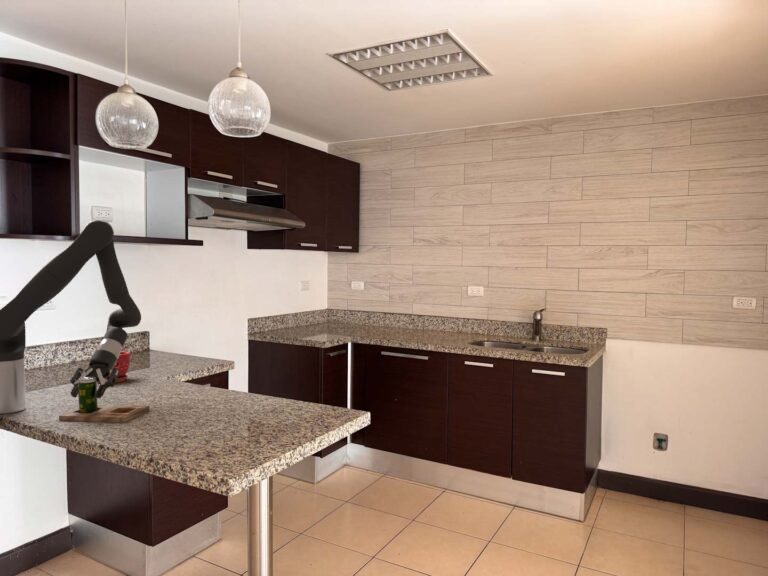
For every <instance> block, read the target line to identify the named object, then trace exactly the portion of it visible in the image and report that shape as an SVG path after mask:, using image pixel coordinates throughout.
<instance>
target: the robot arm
mask: <svg viewBox="0 0 768 576" xmlns="http://www.w3.org/2000/svg"><path fill="white" fill-rule="evenodd" d="M114 235H115V233H114V228H113V226H112V225H111V224H110V223H109V222H108V221H106V220H104V219H100V218H99V219H98V218H95V219H93V220H90V221H89V222H87V223H86V224H85V226H84V228H83V230H82V231H81V232H80V234H78V236H77V237H76V238H75V240H73V242H72V243H71V244H70V245H69V246H68V247H67V248H65V249H64V250H63V251H61V252H60V253H59V254H57V255H55V257H53V258H52V259H50V261H48V262H47V263H45V265H43V267H42V268H40V270H39V271H37V273H35V274H34V275H33V277H32V278H31V279H30V280H29V281H28V282H27V283H26V284H25V285H24V286H23V288H22V289H21V290H20V291H19V292H18V293H17V294H16V296H15V297H14V298H13V299H12V300H10V301H8V303H7V304H4V305H5V306H3V307H2V308H0V414H11V413H17V412H21V411H24V410H26V409H27V405H26V404H27V403H26V400H27V399H26V398H27V397H26V394H27V393H26V377H25V376H26V374H25V369H26V368H25V351H26V345H27V343H26V342H27V341H26V323H25V322H26V321H28V319H29V318H30V317H31V316H32V315H33V314H34V313H35V312H36V311H37V310H39V309H40V308H42V307H43V306H44V305H46V304H47V303H48V302H49V301H52V299H54V298H55V297H56V296H58V295H59V294H60V293H61V292H62V291H63V290H64V289H65V288H66V287H67V286H68V285H69V284H70V283H71V282H72V281H73V279H75V277H76V276H77V275H78V274H79V272H81V270H82V269H83V267H84V266H85V265H86V264H87V262H88V261H90V260H91V259H92V258H93V257H96V259H97V263H98V266H99V270H100V275H101V279H102V283H103V286H104V290H105V292H106V293H105V294H106V297H107V299H108V302H109V303H111V304H113V305H116V306H119V307H120V308H117V309H115V310H113V311H112V312H111V313H110V314H109V317H108V319H107V325H106V330H105V333H104V335H103V338H102V339H101V341H100V342H99V344H98V345H97V347H96V348H95V351H94V353H93V354H92V356H91V358H90V360H89V362H88V363H89V364H88V366H87V368H82V367H81V366H80V367H78V368H77V369H76V371H75V372H74V374H73V376H72V377H71V379H70V383H71V384H72V385H73V387H72V389H71V391H70V396H71V397H72V398H77V397H78V381H79V378H82V377H96V380H97V383H100V382H101V383H100V384H101V385H99V386H98V387H97V392H96V394H95V396H96V397H97V399H101V398H102V397H103V396H104V394H105V392H106V390H107V389H109V388H113V387H115V384H116V383H115V382H116V380H117V377H118V375H119V372H118V370H117V369H116V368H114V366H116V364H117V362H116V361H117V359H118V357H119V355H120V353H121V352H122V350H123V348H124V345H125V343H126V341H127V339H128V333H127V331H126V330H125V328H133V327H134V328H135V327H137V326H138V325H140V323H141V320H142V313H141V310H140V309H139V306H138V305H137V304H136V302H135V301H134V299H133V298H132V297H131V295H130V291H129V289H128V285H127V282H126V279H125V276H124V273H123V271H122V268H121V266H120V263H119V260H118V257H117V253H116V249H115V241H114V237H115V236H114ZM109 375H110V376H109ZM107 376H109V379H108V381H107V379H106V377H107Z"/></svg>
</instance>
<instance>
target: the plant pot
mask: <svg viewBox="0 0 768 576" xmlns="http://www.w3.org/2000/svg"><path fill="white" fill-rule="evenodd" d="M130 357H131V356H130V352H128V351H121V353H120V355H119V357H118V359H117V361H116V363H115V366H114V368H116V369H117V370H118V372H119V375H118V377H117V380H116V382H115V384H116V383H117V382H118V383H121V382H124V381H127V379H128V377H129V376H128V375H127V373H128V371H129V366H130V360H131V358H130ZM109 376H110V375H109ZM109 376H107V377H106V379H107V381H108V379H109ZM99 383H100V384H101V382H99ZM118 383H117V384H118Z"/></svg>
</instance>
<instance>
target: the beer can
mask: <svg viewBox="0 0 768 576" xmlns="http://www.w3.org/2000/svg"><path fill="white" fill-rule="evenodd" d="M97 390H98V382H97V380H96V377H82V378H79V381H78V395H77V397H78V408H79V413H93V412H95V411H97V410H98V404H99V402H98V398H97V397H96V396H95V394H96V392H97Z"/></svg>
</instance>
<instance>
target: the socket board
mask: <svg viewBox="0 0 768 576" xmlns="http://www.w3.org/2000/svg"><path fill="white" fill-rule="evenodd" d="M149 411H150V406H149V405H133V404H132V405H127V404H99V403H98V410H97V411H95V412H93V413H79V407H78V408H75V409H72V410H70V411H67V412H65V413H63V414H60V415H58V421H67V422H68V421H69V422H70V421H71V422H95V423H96V422H98V423H99V422H101V423H124V422H125V423H127V422H129V421H131V420H132V418H133V419H135V418H137V417H139V416H141V415H143V414H145V413H147V412H149ZM130 419H131V420H130ZM126 421H127V422H126Z"/></svg>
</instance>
